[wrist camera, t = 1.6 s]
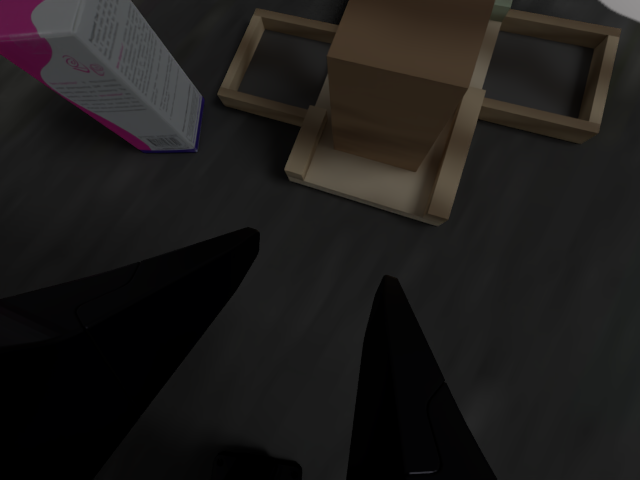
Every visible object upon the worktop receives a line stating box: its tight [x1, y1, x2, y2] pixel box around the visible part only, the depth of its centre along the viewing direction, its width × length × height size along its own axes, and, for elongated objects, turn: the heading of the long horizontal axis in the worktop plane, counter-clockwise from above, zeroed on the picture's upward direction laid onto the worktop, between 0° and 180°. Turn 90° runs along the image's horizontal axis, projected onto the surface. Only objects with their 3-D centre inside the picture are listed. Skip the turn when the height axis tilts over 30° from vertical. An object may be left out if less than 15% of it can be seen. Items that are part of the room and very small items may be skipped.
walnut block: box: [327, 0, 495, 172], centre depth 17 cm, size 7×7×9 cm
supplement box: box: [0, 0, 205, 153], centre depth 19 cm, size 6×6×12 cm
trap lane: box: [217, 0, 621, 226], centre depth 21 cm, size 23×31×4 cm
